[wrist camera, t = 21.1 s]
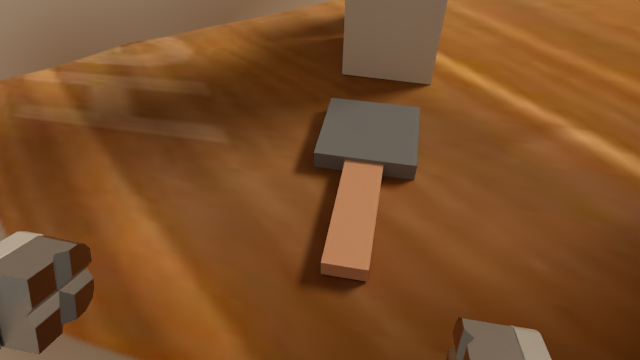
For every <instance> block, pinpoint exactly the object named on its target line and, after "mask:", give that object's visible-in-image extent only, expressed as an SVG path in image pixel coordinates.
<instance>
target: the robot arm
mask: <svg viewBox="0 0 640 360" xmlns="http://www.w3.org/2000/svg"><path fill="white" fill-rule="evenodd" d="M91 261H92V260H91V253H90V248H89V247H88V246H86V245H85V244H84V243H79V242H75V241H70V240H66V239H61V238H56V237H52V236H47V235H42V234H37V233H32V232H27V231H23V232H16V233H14V234H13V235H11V236H9V237H7V238H6V239H4V240H2V241H0V349H1V347H5V348H10V349H15V350H20V351H25V352H30V353H35V354H40V353H41V352H42V351H43V350H45V349H46V348H47V347H48V346H49V345H50V344H51V343H52V342H53V341H54V340H55V339H56V338H57V337H59V336H60V335H61V334H62V333H63V324H66V323H68V322H71V321H73V320H76V319H78V318H79V317H80V316H81V315H82V314H83V313H84V312H85V311H86V309H87V307H88V305H89V303H90V302H91V300H92V297H93V291H94V279H93V277H92V275H91V274H90V273H89V271H88V270H87V269H86V268H87V267H88V265H89V264H90V263H91ZM453 338H454V345H455V346H454V347H452V348H451V349H450V350H448V353H447V358H446V360H552V359H551V357H550V355H549V352H548V350H547V348H546V345H545V343H544V341H543V338H542V336H541V334H540V333H539V332H538V331H537V330H534V329H528V328H522V327H516V326H506V325H500V324H495V323H489V322H484V321H478V320H473V319H467V318H462V317H458V319H457V321H456V324H455V327H454V331H453Z"/></svg>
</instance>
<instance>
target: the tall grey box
mask: <svg viewBox="0 0 640 360" xmlns="http://www.w3.org/2000/svg"><path fill="white" fill-rule="evenodd" d="M446 5H447V0H345V19H344V42H343V66H342V74H345V75H353V76H362V77H370V78H379V79H387V80H395V81H404V82H412V83H421V84H429V85H430V84H431V79H432V75H433V70H434V65H435V60H436V55H437V50H438V45H439V40H440V35H441V30H442V25H443V20H444V15H445V10H446Z"/></svg>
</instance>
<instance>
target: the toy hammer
mask: <svg viewBox="0 0 640 360" xmlns="http://www.w3.org/2000/svg"><path fill="white" fill-rule="evenodd" d="M419 119H420V107H412V106H403V105H394V104H385V103H376V102H367V101H358V100H349V99H341V98H332V97H331V100H330V103H329V107H328V110H327V113H326V116H325V119H324V122H323V125H322V128H321V132H320V135H319V138H318V141H317V144H316V147H315V150H314V167H319V168H327V169H334V170H342V175H341V179H340V184H339V188H338V192H337V196H336V200H335V205H334V209H333V213H332V217H331V222H330V226H329V230H328V234H327V239H326V243H325V247H324V251H323V255H322V260H321V274H324V275H330V276H336V277H342V278H348V279H354V280H360V281H366V282H367V281H368V273H369V266H370V259H371V252H372V245H373V237H374V230H375V223H376V216H377V208H378V201H379V194H380V187H381V180H382V176H386V177H394V178H401V179H409V180H414V178H415V173H416V168H417V155H418V137H419Z"/></svg>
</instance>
